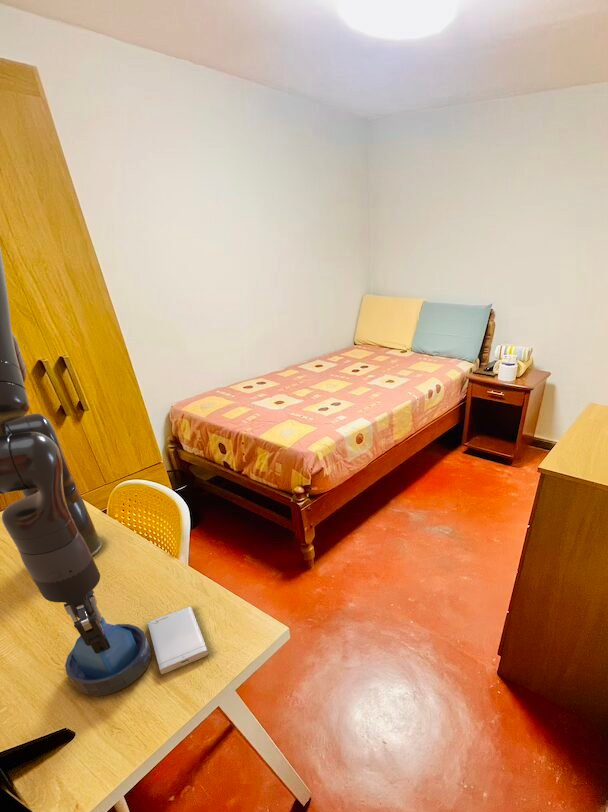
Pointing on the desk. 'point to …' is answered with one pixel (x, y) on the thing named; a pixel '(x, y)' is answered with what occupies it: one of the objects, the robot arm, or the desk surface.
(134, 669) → the bowl
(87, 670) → the perfume bottle
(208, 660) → the desk surface
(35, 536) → the robot arm
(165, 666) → the hard drive
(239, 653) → the desk surface
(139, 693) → the desk surface
